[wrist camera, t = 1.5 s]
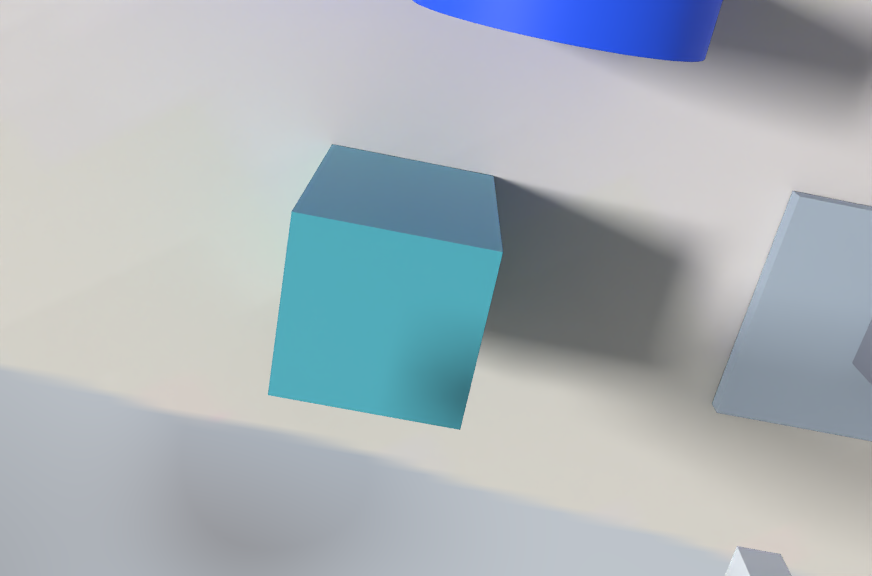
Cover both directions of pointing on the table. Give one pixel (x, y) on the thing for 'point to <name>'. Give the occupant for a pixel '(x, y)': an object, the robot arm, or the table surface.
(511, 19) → the bracket
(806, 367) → the marker stand
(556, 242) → the table surface
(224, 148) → the table surface
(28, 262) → the table surface
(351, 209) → the teal block
